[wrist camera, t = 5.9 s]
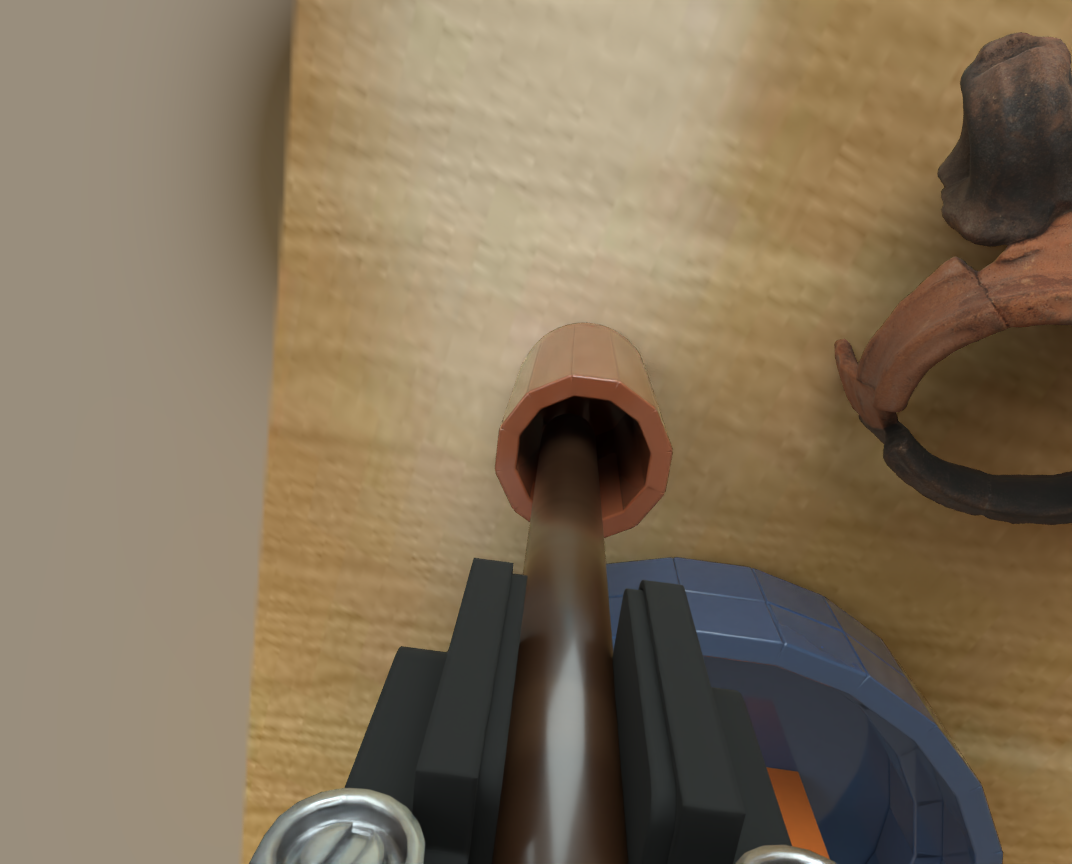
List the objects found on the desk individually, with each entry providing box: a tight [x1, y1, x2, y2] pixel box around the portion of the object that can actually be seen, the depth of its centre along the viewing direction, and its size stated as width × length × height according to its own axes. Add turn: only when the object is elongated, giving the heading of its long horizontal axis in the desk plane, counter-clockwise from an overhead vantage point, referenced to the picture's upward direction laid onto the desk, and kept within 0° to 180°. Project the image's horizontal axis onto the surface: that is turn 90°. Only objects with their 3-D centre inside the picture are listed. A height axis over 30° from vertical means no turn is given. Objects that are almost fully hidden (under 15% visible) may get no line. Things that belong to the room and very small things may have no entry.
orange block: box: [766, 767, 830, 859], centre depth 26 cm, size 4×4×4 cm
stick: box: [492, 414, 628, 864], centre depth 13 cm, size 1×1×16 cm
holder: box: [495, 323, 673, 538], centre depth 21 cm, size 4×4×7 cm
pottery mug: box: [834, 32, 1072, 525], centre depth 20 cm, size 12×10×8 cm
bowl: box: [447, 557, 1003, 864], centre depth 26 cm, size 20×20×5 cm
